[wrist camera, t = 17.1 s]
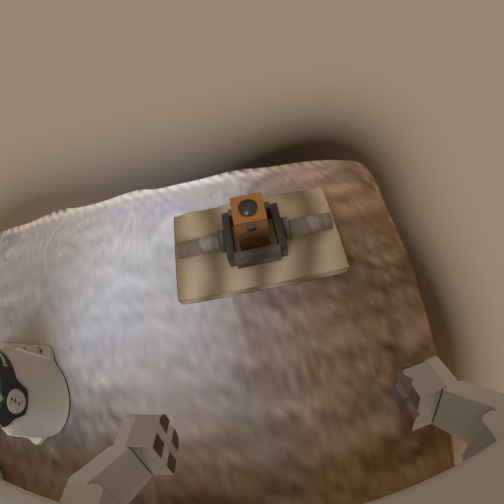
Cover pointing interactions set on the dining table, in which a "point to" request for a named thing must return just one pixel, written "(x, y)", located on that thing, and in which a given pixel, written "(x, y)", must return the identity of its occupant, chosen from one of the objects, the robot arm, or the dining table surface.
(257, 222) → the block
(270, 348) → the dining table surface
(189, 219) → the base
